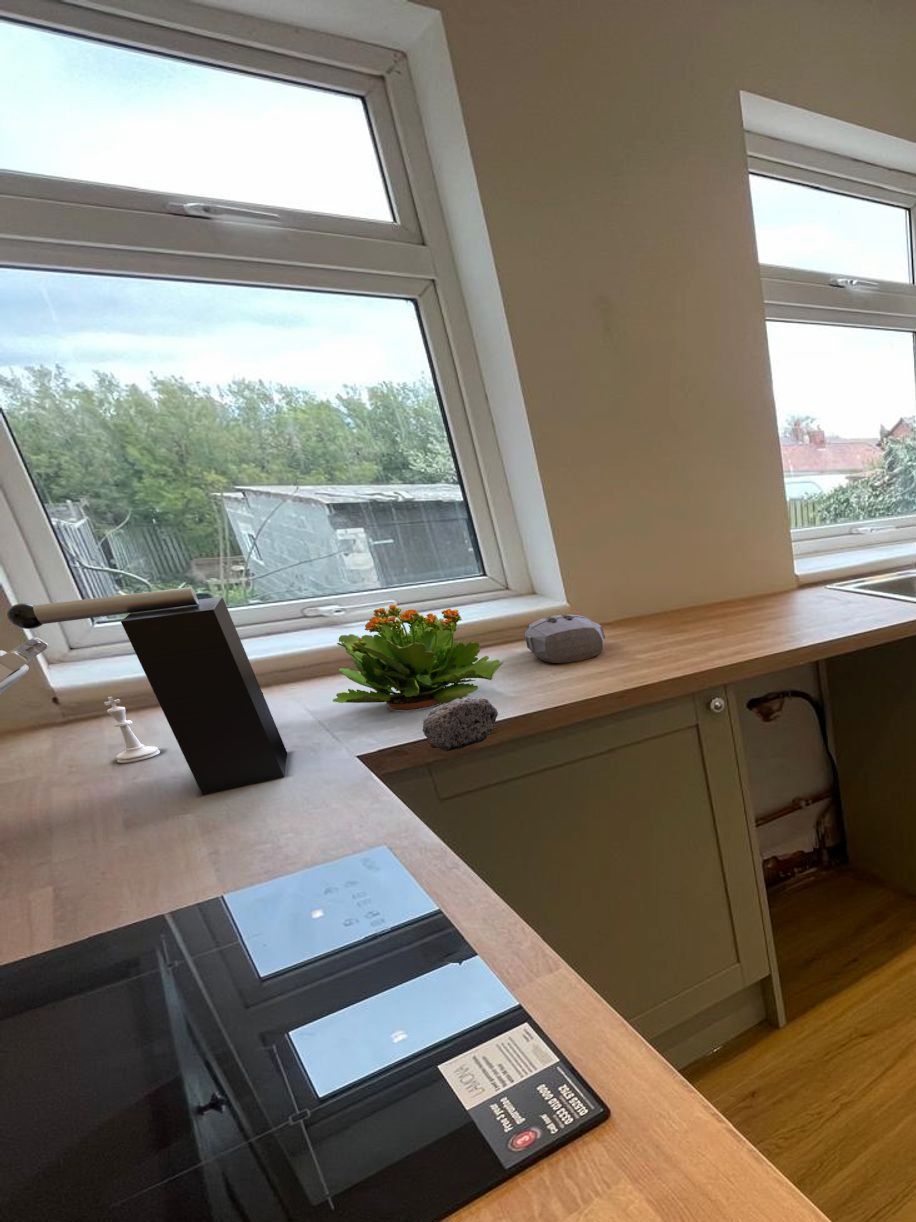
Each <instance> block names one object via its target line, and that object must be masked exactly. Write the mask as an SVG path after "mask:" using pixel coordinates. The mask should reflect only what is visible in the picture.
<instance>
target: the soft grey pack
mask: <svg viewBox="0 0 916 1222" xmlns="http://www.w3.org/2000/svg"><path fill="white" fill-rule="evenodd" d="M524 638H525V642H526V648H527V649H528V650H529V651H530V652H531V654H533V655H534V656H536V657H537V658H538V659H540V660H542V661H543V662H548V663H553V664H554V663H555V664H556V663H557V664H564V663H565V664H566V663H571V662H580V661H584V660H586V659H590V658H594V657H595V656H597V655H598V656H599V655H600V654H602V652H603V651H602V650H603V649H604V645H605V639H606V636H605V633H604V628H603V626H602V625H600V624H599V623H597V622H594V621H593V620H591V619H590V618H589V617H587V616H583V615H578V614H572V613H571V614H569V613H568V614H567V613H566V614H556V615H551V616H550V615H549V616H548V617H547V616H546V617H543V618H540V619H538V620H536V621H534V622H531V623H530V624H528V626H527V628H526V631H525V632H524Z"/></svg>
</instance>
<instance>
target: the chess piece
mask: <svg viewBox="0 0 916 1222" xmlns="http://www.w3.org/2000/svg"><path fill="white" fill-rule="evenodd" d="M107 699H108V701H104V702H103V704H104V706H110V705H111V707H110V708H108V709H107V710H106V713H107V714H108V715H109V716H110V717H112V718H113V720H115V721H116V722H115V723H113V727H114V728H120V731H121V734H122V738H123V741H124V743H125V744H124V745H125V748H124V749H123V750H124V751H122V752H120V753H118V754H117V755H116V757H115V759H116V762H117V763H120V764H122V763H123V764H124V763H125V764H126V763H133V762H138V761H143V760H147V759H150V758H153V757H155V756H157V755H159V754H160V753H161V750H160V749H159V747H157V746H151V745H150V746H149V745H148V746H145V744H143V743H141V742H140V739H138V737H137V736H136V735H135V734H134V732H133V730H132V728H131V727H130V726H129V725H132V724H133V721H132V720H129V719H128V720H127V719H126V717H127V716H126V711H127V710H126V707H125V706H117V704H119V703H121V699H119V698H117V699H114V697H113V696H108V697H107Z"/></svg>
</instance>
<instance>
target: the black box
mask: <svg viewBox="0 0 916 1222" xmlns="http://www.w3.org/2000/svg"><path fill="white" fill-rule="evenodd" d="M198 602H199V604H198V605H191V606H183V607H175V608H167V609H159V610H151V611H143V612H135V613H128V614H127V616H125V617H124V618H123V619H121V620H120V624H121V626H122V628H123V629H124V632H125V634H126V636H127V638H128V640H129V642H130V644H131V647H132V649H133V651H134V653H135V655H136V657H137V659H138V661H139V663H140V667H141V668H142V670H143V672H144V674H145V677H146V679H147V680H148V682H149V685H150V687H151V689H152V691H153V693H154V696H155V698H156V700H157V702H158V704H159V706H160V708H161V710H162V712H163V715H164V717H165V719H166V721H167V724H168V725H169V728H170V729H171V732H172V734H173V736H174V738H175V740H176V742H177V745H178V746H179V748H180V750H181V753H182V755H183V757H184V759H185V762H186V763H187V765H188V768H189V770H190V772H191V774H192V776H193V778H194V780H195V783H196V784H197V788H198V789H199V791H200V793H201V795H202V796H204V795H209V794H213V793H218V792H221V791H226V790H231V789H236V788H241V787H244V786H249V785H253V784H254V785H255V784H259V783H262V782H263V783H264V782H267V781H271V780H276V779H281V778H284V777H285V774H286V768H287V767H286V766H287V759H288V751H287V748H286V746H285V744H284V742H283V739H282V737H281V733H280V732H279V729H278V727H277V725H276V722H275V719H274V718H273V714H272V713H271V710H270V708H269V705H268V703H267V701H266V698H265V696H264V693H263V691H262V688H261V686H260V684H259V681H258V679H257V677H256V673H255V672H254V670H253V667H252V664H251V662H250V660H249V657H248V654H247V652H246V649H245V648H244V645H243V642H242V640H241V638H240V635H239V633H238V631H237V628H236V626H235V624H234V621H233V619H232V616H231V614H230V611H229V609H228V607H227V604H226V602H225V599H224V597H223V596H217V597H209V598H201V599H199V598H198Z"/></svg>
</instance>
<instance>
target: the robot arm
mask: <svg viewBox="0 0 916 1222" xmlns="http://www.w3.org/2000/svg"><path fill="white" fill-rule="evenodd" d="M48 648H50V645H49V644H48V643H47V642H45V641H44V640H43V639H41V638H39V637H37V636H36V637H34V636H33V637H32V638H30V639H28V640H26V641H25V642H23V643H22V644H20V645H18V646H17V647H15V648H13V649H10V650H8V651H5V650H3V649H1V650H0V696H1V695H2V694H4V693H5V692H6V691H7V690H8V689H9V688H11V687H12V686H13V685H14V684H16V683H17V681H19V680H20V679H21V678H22V677H23V676H25V674H26V673H27V672H28V671H29V669H30V667H29V665H27V664H28V663H29V662H31V661H32V660H33V659H34V658H35V657H37V656H38V655H40V654H41V653H43V652H44V651H46V650H47V649H48Z"/></svg>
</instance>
